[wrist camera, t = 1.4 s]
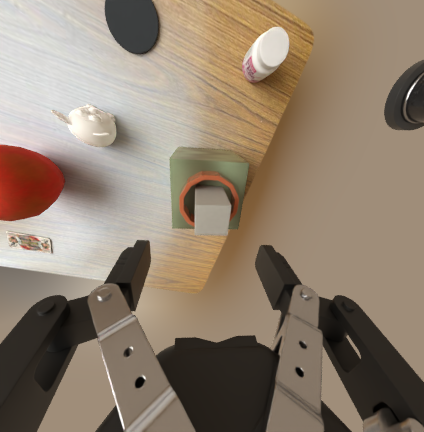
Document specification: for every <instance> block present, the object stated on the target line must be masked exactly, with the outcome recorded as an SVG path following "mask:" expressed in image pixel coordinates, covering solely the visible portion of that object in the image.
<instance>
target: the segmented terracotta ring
mask: <svg viewBox="0 0 424 432" xmlns="http://www.w3.org/2000/svg"><path fill="white" fill-rule="evenodd" d="M203 180H218V181H220V182H221V183H223V184H224V185H226V186H228V187H229V189H230V191H231V193H232V194H231V202H230V204H231V213H230V220H229V222H230V221H231V220H232V218H233V217H234V216H235V215H236V212H237V210H238V203H239V197H238V194H237V192H236V190H235V188H234V185H233V184H232V182H231V181H230V180H229V179H228V178H226V177H225V176H224V175H222V174H221V173H219V172H215V171H201V172H199V173H197V174H195V175H193V176H191V177H189V178H188V179H187V181H186V182H185V184H184V186H183V187H182V189H181V192H180V196H179V207H180V213H181V214H182V216H183V217H184V219H185V220H186V222H187V223H188V224H190V225H192V226H194V227H195V215H193V214H192V213H190V211H189V209H188V208H187V206H186V205H185V195H186V194H187V192H188V190H189V189H190V187H191V186H193V185H195V184H197V183H199V182H201V181H203Z"/></svg>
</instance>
